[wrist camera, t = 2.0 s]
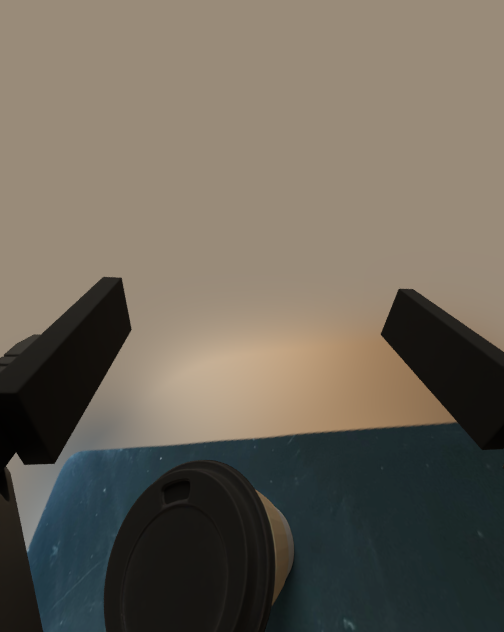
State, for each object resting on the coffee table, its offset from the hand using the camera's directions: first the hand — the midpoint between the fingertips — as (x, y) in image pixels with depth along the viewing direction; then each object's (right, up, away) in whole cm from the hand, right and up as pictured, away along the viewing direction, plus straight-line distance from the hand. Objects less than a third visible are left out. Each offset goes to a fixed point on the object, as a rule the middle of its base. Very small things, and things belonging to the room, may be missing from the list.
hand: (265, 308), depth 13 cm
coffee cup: (0, -21, +11) cm, 24 cm away
